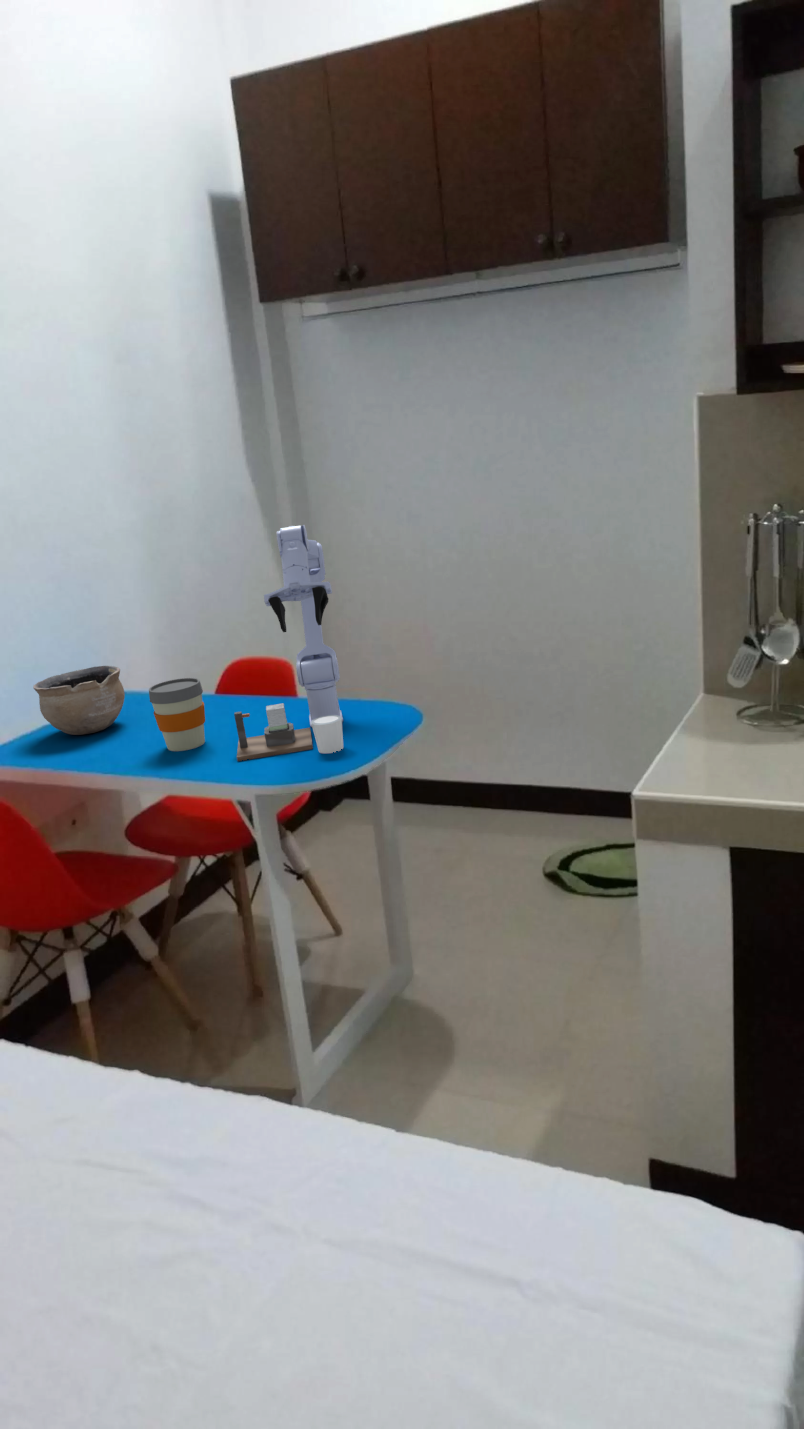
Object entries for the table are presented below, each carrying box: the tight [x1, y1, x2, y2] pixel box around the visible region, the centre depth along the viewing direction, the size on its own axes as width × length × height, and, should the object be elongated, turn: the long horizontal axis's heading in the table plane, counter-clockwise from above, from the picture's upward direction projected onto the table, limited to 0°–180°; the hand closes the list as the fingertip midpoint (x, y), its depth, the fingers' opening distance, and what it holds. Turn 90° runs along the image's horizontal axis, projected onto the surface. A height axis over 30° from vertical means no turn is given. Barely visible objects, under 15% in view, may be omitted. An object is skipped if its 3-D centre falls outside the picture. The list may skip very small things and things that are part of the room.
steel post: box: [265, 703, 288, 733], centre depth 249 cm, size 4×4×8 cm
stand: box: [234, 711, 314, 762], centre depth 249 cm, size 14×17×9 cm
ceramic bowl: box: [33, 665, 126, 736], centre depth 285 cm, size 22×22×15 cm
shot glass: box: [311, 715, 344, 754], centre depth 241 cm, size 7×7×7 cm
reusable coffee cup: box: [148, 677, 206, 752], centre depth 259 cm, size 13×13×15 cm
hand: (301, 626), depth 230 cm, fingers open, 7 cm apart
